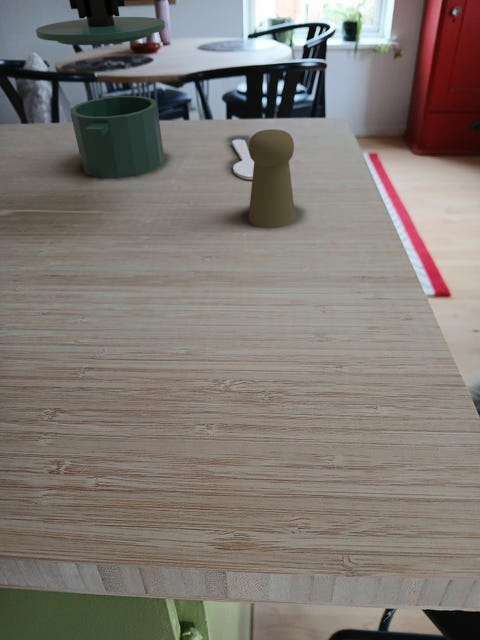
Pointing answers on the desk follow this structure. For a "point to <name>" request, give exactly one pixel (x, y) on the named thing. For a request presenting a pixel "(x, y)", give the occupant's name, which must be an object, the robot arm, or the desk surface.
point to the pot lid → (100, 27)
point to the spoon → (243, 160)
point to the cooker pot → (118, 136)
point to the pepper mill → (271, 179)
